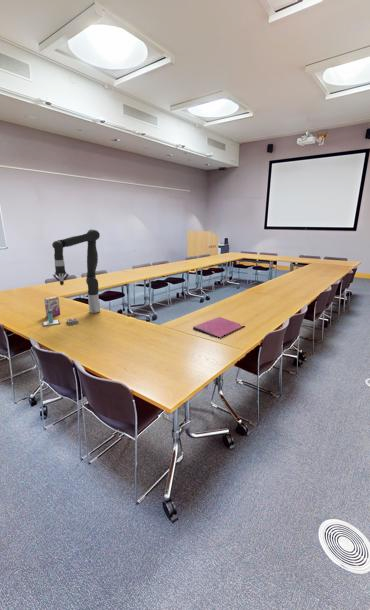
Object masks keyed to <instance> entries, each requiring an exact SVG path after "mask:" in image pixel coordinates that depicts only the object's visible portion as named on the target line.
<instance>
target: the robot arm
mask: <svg viewBox="0 0 370 610" xmlns="http://www.w3.org/2000/svg"><path fill="white" fill-rule="evenodd" d="M100 234H101V233H100V232H99V231H98V230H96V229H93V228H92V229H91V228H90V229H89V230H87V232H86V233H83V234H81V235H74V236H70V237H66V238H63V239H58V240H55V241H53V242H52V244H51V245H52V246H51V247H52V248H53V249H54V253H53V254H54V255H53V256H54V257H53V258H54V268H55V272H54V274H52V276H53V278H54V279H56V280H57V281H59V285H60V286H64V285H65V283H64V282H65V281H66V280H67V278H68V277H69V276H70V275H69V273H67V272H66V267H65V260H64V259H65V258H64V248H69V247H73V246H76V245H78V244H81V243H86V242H87V249H86V251H87V252H86V268H87V271H86V280H85V281H86V284H87V297H88V298H87V299H88V311H89V313H90V314H96V313H100V312H101V306H100V305H101V304H100V301H99V281H98V279H97V278H96V277H97V276H96V275H97V274H96V272H97V271H96V269H97V267H98V261H99V260H98V259H99V255H98V251H97V250H98V249H97V240H99V239H100V236H101V235H100Z"/></svg>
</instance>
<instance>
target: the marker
mask: <svg viewBox="0 0 370 610" xmlns="http://www.w3.org/2000/svg"><path fill="white" fill-rule="evenodd" d="M47 312H48V321H49V323H53V320H54V319H53V317H54V316H52V310H48V311H47Z"/></svg>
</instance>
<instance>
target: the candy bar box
mask: <svg viewBox="0 0 370 610" xmlns="http://www.w3.org/2000/svg"><path fill="white" fill-rule="evenodd" d="M59 298H60V297H59V296H51V297H45V298H44V308H45V316H46V317H48V312H47V311H48V310H52V316H53V317H55V316H58V315H61V310H60V308H61V307H60V300H59Z"/></svg>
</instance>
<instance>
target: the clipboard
mask: <svg viewBox="0 0 370 610" xmlns="http://www.w3.org/2000/svg"><path fill="white" fill-rule="evenodd" d="M41 324H42V327H43V328H44V327H48V326H49V327H50V326H56V325H57V326H58V325H60V324H61V322H60V319H53V323H49V320H47V321H46V320H45V321H42V322H41Z"/></svg>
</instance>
